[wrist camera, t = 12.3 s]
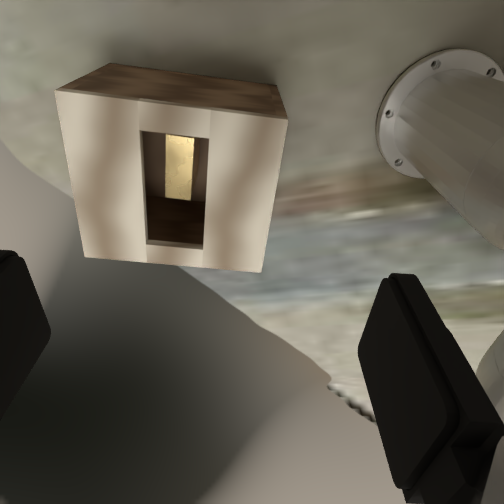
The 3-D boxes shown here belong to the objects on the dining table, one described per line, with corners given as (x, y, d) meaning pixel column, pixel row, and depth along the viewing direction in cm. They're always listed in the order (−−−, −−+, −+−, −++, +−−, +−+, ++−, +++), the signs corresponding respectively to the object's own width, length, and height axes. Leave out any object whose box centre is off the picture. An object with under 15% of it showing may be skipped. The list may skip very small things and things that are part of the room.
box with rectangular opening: (276, 85, 35) (288, 119, 25) (257, 210, 43) (261, 272, 33) (109, 63, 34) (54, 90, 24) (122, 196, 42) (84, 257, 32)
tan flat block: (190, 200, 34) (198, 173, 39) (194, 138, 31) (201, 117, 36) (165, 197, 34) (176, 170, 39) (165, 134, 30) (177, 113, 36)
